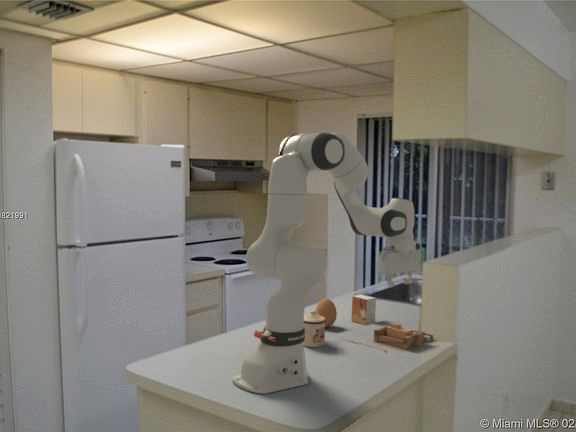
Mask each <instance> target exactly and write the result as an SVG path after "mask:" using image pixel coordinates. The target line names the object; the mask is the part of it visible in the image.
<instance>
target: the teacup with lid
mask: <svg viewBox="0 0 576 432" xmlns="http://www.w3.org/2000/svg"><path fill="white" fill-rule="evenodd" d="M325 321H326V320H325V318H324V317H323V316H320V315H319V314H316V310H310V311H309V313H306V314H304V326H303V327H304V328H305V340H304V342H303V343H304V347H306V348H320V347H323V346H324V345H325V343H326V342H325V338H326V336H325V335H326V334H325V333H326V328H325Z"/></svg>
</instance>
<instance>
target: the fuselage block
mask: <svg viewBox="0 0 576 432" xmlns="http://www.w3.org/2000/svg"><path fill="white" fill-rule="evenodd" d="M388 326H389V327H387V336H388V337H391V338H395V339H399V340H402V341H403V337H406V336H409V335H413V330H414V329H411V328H406V327H403V326H402V324H401V323H399V322H398V323H397V322H391V323H389V325H388Z"/></svg>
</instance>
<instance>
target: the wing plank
mask: <svg viewBox="0 0 576 432" xmlns="http://www.w3.org/2000/svg"><path fill="white" fill-rule="evenodd" d="M413 334H416V332H413ZM425 337H427V342H428V341H431V336H428V335H425ZM431 342H432V341H431ZM428 343H429V342H428Z"/></svg>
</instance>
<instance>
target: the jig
mask: <svg viewBox="0 0 576 432" xmlns="http://www.w3.org/2000/svg"><path fill="white" fill-rule="evenodd" d="M389 326H390V325H386V326H384V327H380V328H377V329H374V331H373V341H372V343H373V344H378V345H380V346H384V347H387V348H390V349H394V350H398V351H400V352H401V351H402V352H405V351H408V350H411V349H413V348H417V347H419V346H422V345H424V344H427V343H431V342H433V341H436V339H435V338H434V334H430V333H426V332H425V331H418V330H414V329H412V330H413V332H416V334H413V335H409V336H406V337H403V341H402V340H399V339H395V338H391V337H388V336H387V327H389ZM425 335H428V336H431V341H428V342H427V337H425Z"/></svg>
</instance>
